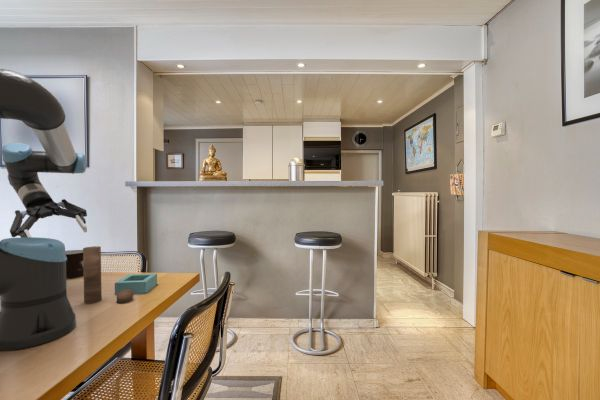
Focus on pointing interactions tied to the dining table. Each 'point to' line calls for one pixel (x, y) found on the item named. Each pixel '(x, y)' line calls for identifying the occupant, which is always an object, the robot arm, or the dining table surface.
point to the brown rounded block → (124, 296)
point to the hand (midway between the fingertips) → (61, 237)
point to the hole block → (136, 283)
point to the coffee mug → (74, 264)
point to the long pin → (92, 274)
